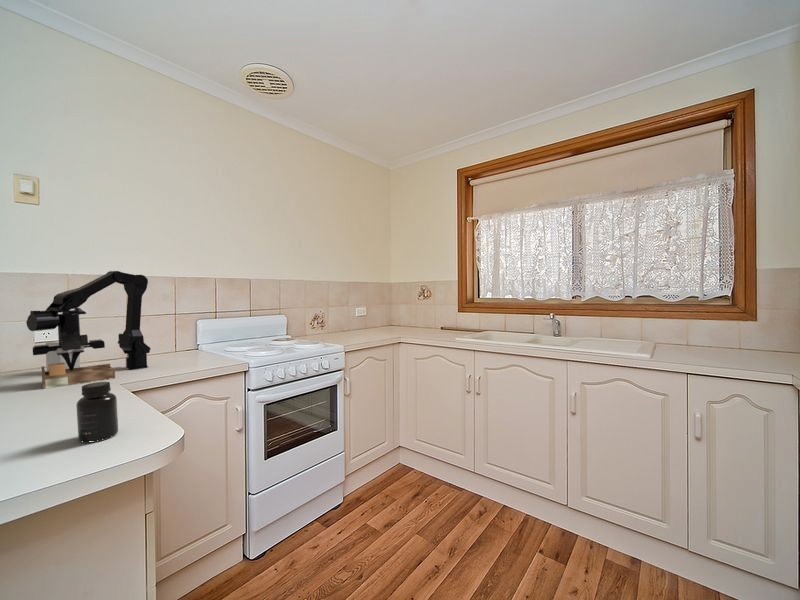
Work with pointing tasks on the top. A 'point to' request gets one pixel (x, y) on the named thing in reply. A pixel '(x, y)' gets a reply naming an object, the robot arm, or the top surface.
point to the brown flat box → (78, 375)
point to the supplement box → (59, 357)
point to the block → (56, 369)
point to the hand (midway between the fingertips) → (71, 370)
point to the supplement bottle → (97, 412)
